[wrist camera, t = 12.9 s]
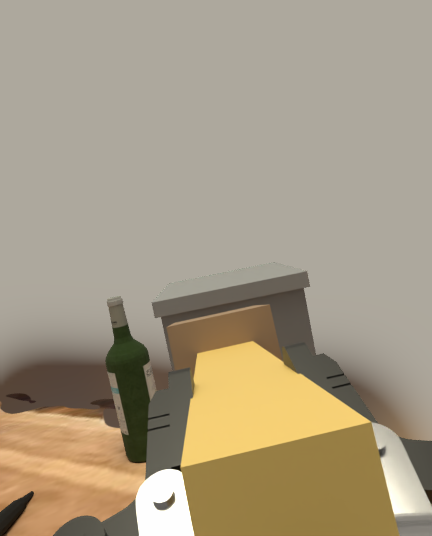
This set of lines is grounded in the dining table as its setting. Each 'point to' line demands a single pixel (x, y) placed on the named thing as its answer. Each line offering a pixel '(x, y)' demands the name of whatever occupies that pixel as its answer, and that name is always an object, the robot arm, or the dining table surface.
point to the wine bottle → (129, 383)
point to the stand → (242, 300)
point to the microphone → (13, 512)
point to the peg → (271, 440)
